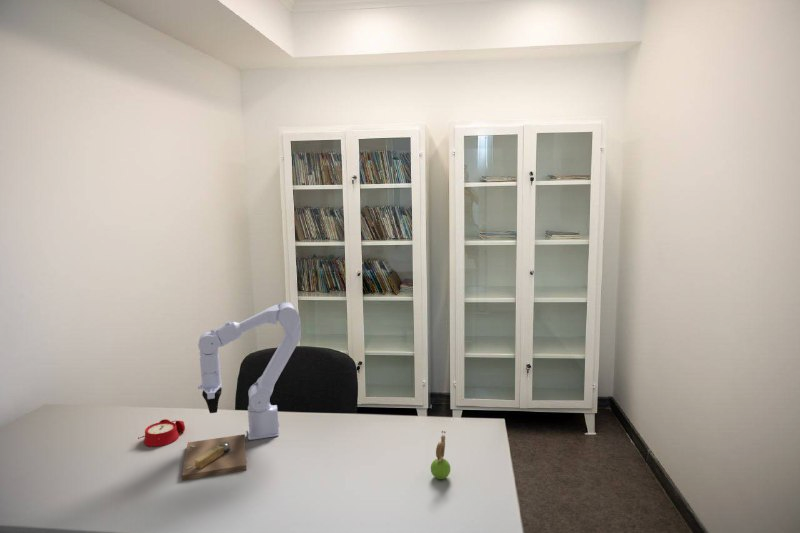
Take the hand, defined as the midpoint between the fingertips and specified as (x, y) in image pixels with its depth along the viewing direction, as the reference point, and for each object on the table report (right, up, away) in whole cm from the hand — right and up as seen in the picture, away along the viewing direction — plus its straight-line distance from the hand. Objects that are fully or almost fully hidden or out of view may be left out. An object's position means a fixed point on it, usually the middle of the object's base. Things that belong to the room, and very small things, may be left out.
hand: (213, 412), depth 168 cm
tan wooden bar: (+5, -10, -13) cm, 17 cm away
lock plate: (+4, -11, -10) cm, 15 cm away
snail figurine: (+70, -12, -22) cm, 74 cm away
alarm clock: (-17, -10, +4) cm, 20 cm away
